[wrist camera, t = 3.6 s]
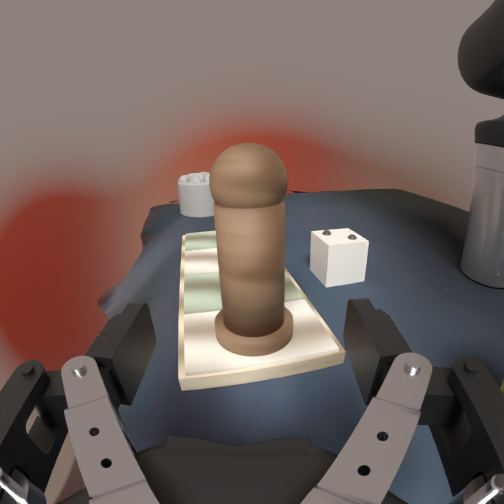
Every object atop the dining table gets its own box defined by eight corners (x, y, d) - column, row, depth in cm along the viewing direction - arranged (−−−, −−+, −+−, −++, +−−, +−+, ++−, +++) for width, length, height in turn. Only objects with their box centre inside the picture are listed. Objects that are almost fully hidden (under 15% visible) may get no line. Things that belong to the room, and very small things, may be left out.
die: (309, 269, 37) (311, 227, 35) (345, 265, 38) (348, 224, 36) (325, 288, 33) (329, 241, 31) (364, 281, 34) (369, 237, 32)
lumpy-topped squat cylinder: (219, 202, 77) (217, 169, 74) (231, 214, 65) (229, 174, 62) (178, 207, 74) (175, 173, 71) (183, 220, 62) (180, 179, 59)
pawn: (242, 305, 27) (234, 142, 22) (304, 322, 24) (309, 141, 19) (200, 340, 22) (178, 147, 17) (270, 366, 19) (266, 143, 14)
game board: (183, 242, 48) (182, 233, 48) (256, 235, 50) (256, 226, 50) (181, 390, 19) (177, 376, 19) (343, 363, 21) (346, 348, 21)
